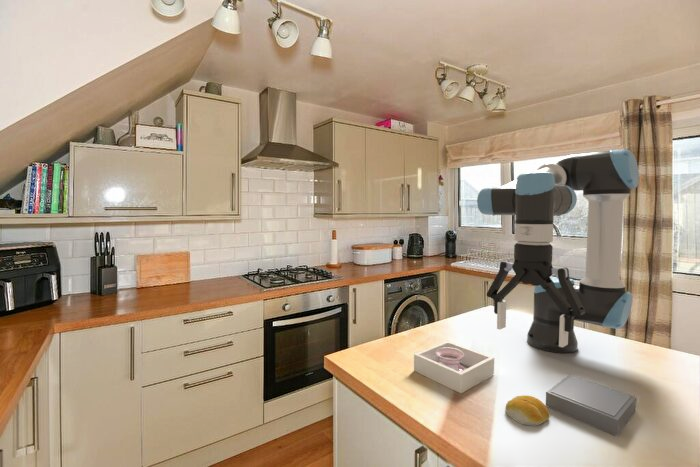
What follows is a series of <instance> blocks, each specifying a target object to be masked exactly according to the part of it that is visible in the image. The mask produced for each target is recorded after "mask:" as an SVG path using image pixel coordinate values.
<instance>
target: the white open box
mask: <svg viewBox="0 0 700 467" xmlns="http://www.w3.org/2000/svg"><path fill="white" fill-rule="evenodd" d="M443 347H452V348H457V349H459V350H461V351H462V352H463V353H464V357H463V359H462V360H461V362H460V363H459V364H462V365H464V366H467V367H468V368H467V367H466V368H467V369H465V370H463V371H461V372H459V371H456V370H454V369H452V368H449V367H447V366H445V365H442V364H440V363H439V362H440V361H439V360H438V357H437V355H436V351H437V350H438V349H439V348H443ZM413 371H414V372H416V373H418V374H420V375H422V376H424V377H426V378H427V379H430V380H432V381H434V382H436V383H439V384H440V385H443V386H444V387H447V388H449V389H451V390H453V391H455V392H457V393H459V394H463V393H464V392H466V391H468V390H470V389H472V388H473V387H475V386H477V385H478V384H480V383H482V382H484V381H485V380H487V379H489V378H491V377H493V376H494V375H495V357H494V356H490V355H488V354H485V353H482V352H479V351H476V350H474V349H471V348H468V347H465V346H463V345H460V344H456V343H454V342H451V341H449V340H446V341H444V342H441V343H439V344H437V345H434V346H431V347H429V348H426V349H424V350H421V351H419V352H416V353H414V354H413ZM493 374H494V375H493ZM490 376H491V377H490Z"/></svg>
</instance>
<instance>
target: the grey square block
mask: <svg viewBox="0 0 700 467" xmlns="http://www.w3.org/2000/svg"><path fill="white" fill-rule="evenodd" d="M545 406H546V407H547V408H549V409H552V410H554V411H557V412H559V413H561V414H563V415H565V416H568V417H570V418H573V419H575V420H578V421H579V422H581V423H582V422H583V423H584V424H587V425H590V426H592V427H594V428H597V429H599V430H601V431H604V432H605V433H608V434H611V435H613V436H616V437H618V436H619V434H620V433H621V432H622V430H623V429H624V428H625V426H626V425H627V424H628V422H629V421H630V420H631V418H632V417H633V416H634V415H635V413H636V411H637V396H634V395H632V394H629V393H626V392H623V391H619V390H617V389H614V388H611V387H607V386H605V385H601V384H599V383H596V382H593V381H590V380H587V379H585V378H584V379H583V378H581V377H578V376H576V375H572V374H567V375H566V376H565V377H564V378H563V379H561V380H560V381H558V382H557V383H556V384H555V385H553V386H552V387H551V388H549V389H548V390H546V392H545Z"/></svg>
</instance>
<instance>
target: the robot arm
mask: <svg viewBox="0 0 700 467" xmlns="http://www.w3.org/2000/svg"><path fill="white" fill-rule="evenodd" d="M639 180H640V173H639V166H638V162H637V158H636V156H635V155H634V153H633V151H631V150H629V149H625V148H624V149H610V150H609V149H608V150H601V151H594V152H588V153H587V152H586V153H578V154H577V153H576V154H570V155H566V156H563V157H560V158H557V159H555V160H552V161H549V162H547V163H544V164H543V165H541V166H539V167H538V168H537V170H536V171H533V172H526V173H521V174H519V175H518V176H517V177H516V179H514V180H512V181H511V182H508V183H506V184H503V185H501V186H496V187H495V186H490V187H485V188H482V189H481V190H480V191H479V193H478V194H477V198H476V203H477V204H476V205H477V209H478V210H479V212H480V213H481V214H482V215H488V216H490V215H491V216H515V220H514V241H516V242H515V244H514V245H513V258H514V262H510V261H509V260H503V261H501V262H500V263H499V270H498V272H497V274H496V276H495V277H494V279H493V281H492V283H491V285H490V286H489V288H488V291H487V292H486V296H487V298H491V299H492V300H493V302H494V304H493V305H494V306H493V309H494V310H493V312H494V314H495V315H496V329H497V330H503V329H505V328H507V300H504V299H505V298H506V296H508V295H509V294H510V293H512V291H513V290H514V289H515V288H516V287H517V286H518V285H519V284H520V283H522V284H524V285H532V286H534V289H533V290H534V291H533V315H532V316H533V319H532V323H531V324H530V327H529V330H528V332H527V335H526V337H527V339H526V342H528V344H529V345H531V346H533V347H535V349H536V348H537V349H539V350H543V351H547V352H551V353H558V354H559V353H560V354H570V353H571V354H572V353H575V352H577V351H578V339H577V336H576V333H575V330H574V328H575V326H574V325H575V321H576V322H582V323H586V324H590V325H595V326H600V327H602V328H610V329H616V330H617V329H622V328H623V327H624V326H625V325H626V323H627V321H628V318H629V316H630V313H631V309H632V306H633V294H632V293H631V292H629V291H626V290H627V289H626V284H625V283H624V282H623V281H622V280H621V278H620V276H621V258H622V257H621V253H622V236H623V235H622V234H623V233H622V232H623V217H624V216H623V215H624V213H623V212H624V201H625V200H626V199H627V198H628V197H629V196H631V190H634V189H637V187H638V185H639ZM575 191H577V192H578V191H582V197H583V198H585V199H586V200H587V202H588V208H587V209H588V211H587V229H586V230H587V233H586V234H587V235H586V237H587V238H586V257H585V259H586V260H585V276H584V277H582V278H581V279H580V280H579V284H575V281H574V279H573V278H570V270H569V268H568V267H566V266H565V267H562V268H561V267H560V268H558V267H557V268H556V267H555V268H554V267H553V264H552V263H553V250H554V248H553V245H552V244H550V243H552V242H554V241H553V240H554V219H555V218H554V216H555V217H560V216H562V215H566V214H568V213H570V212H571V211H572V210H574V209H575V207H576V205H577V201H578V198H577V197H578V196H577V194H576V192H575ZM512 270H513V272H514V273H515V275H514V276H513V277H512V278H510V280H509V282H507V283H506V284H505V286H503V287H502V285H503V283H504V282H505V280H506V278H507V276H508V274H509V272H511V271H512ZM553 275H554V276H555V277H551V276H553ZM501 287H502V288H501ZM500 288H501V289H500Z"/></svg>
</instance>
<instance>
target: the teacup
mask: <svg viewBox="0 0 700 467" xmlns="http://www.w3.org/2000/svg"><path fill="white" fill-rule="evenodd" d="M436 355H437V357H438V360H439V361H440V362H438V363H440V364H442V365H445V366H447V367H449V368H452V369H454V370H456V371H460V370H459V369H462V370H465V369H467V367H465V366H463V365H461V363H460V362H461V360H462V359H463V357H464V353H463V352H462V351H461V350H459V349H457V348H452V347H443V348H439V349H438V350H437V351H436Z"/></svg>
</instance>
